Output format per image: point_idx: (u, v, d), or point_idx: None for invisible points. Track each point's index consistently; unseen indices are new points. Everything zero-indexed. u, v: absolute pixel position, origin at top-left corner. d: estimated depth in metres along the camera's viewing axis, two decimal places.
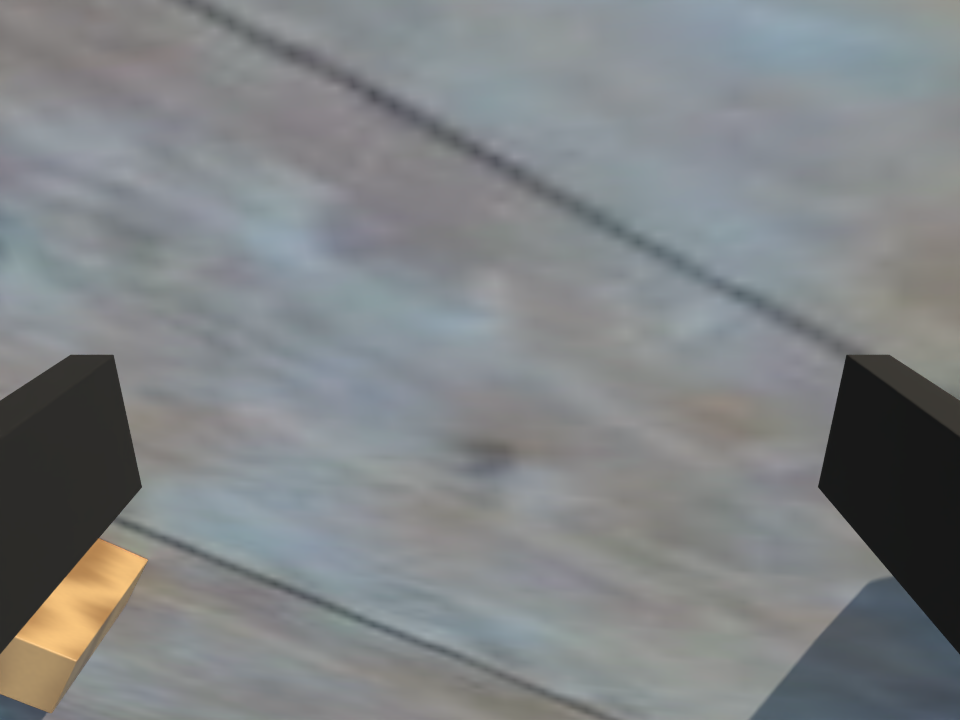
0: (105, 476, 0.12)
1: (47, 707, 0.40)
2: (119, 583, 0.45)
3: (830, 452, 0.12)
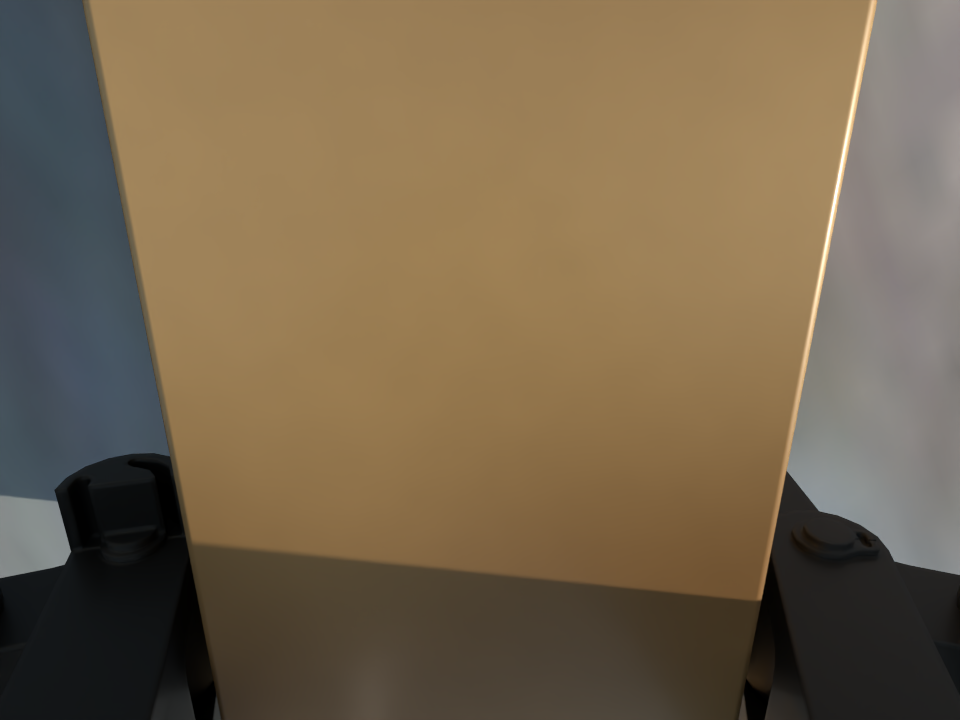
0: None
1: None
2: None
3: None
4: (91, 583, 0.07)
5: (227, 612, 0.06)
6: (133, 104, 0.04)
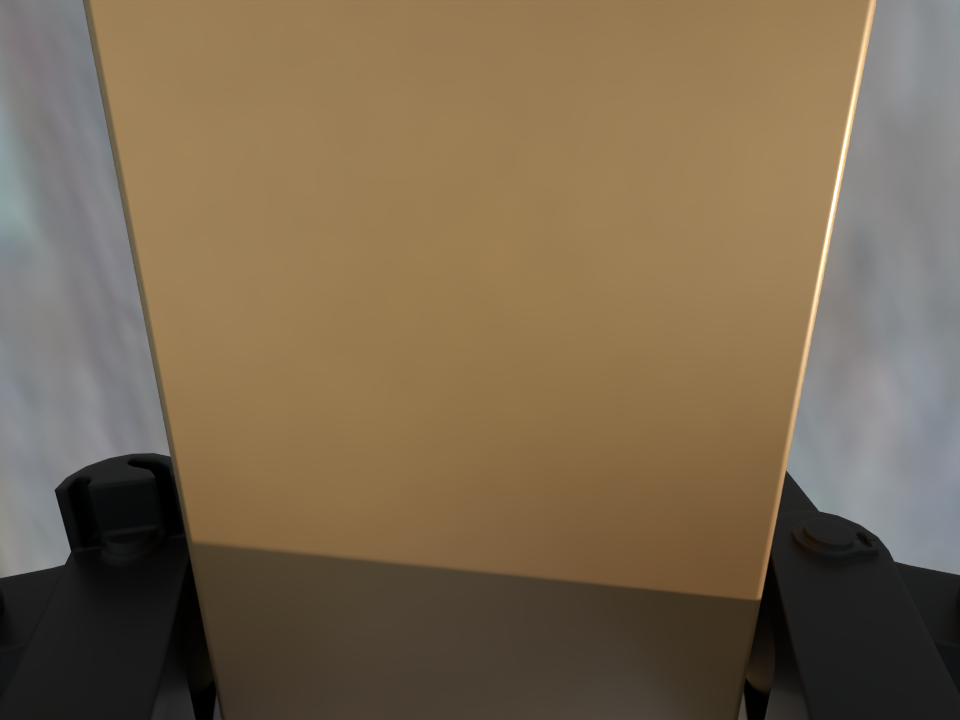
0: None
1: None
2: None
3: None
4: (91, 583, 0.07)
5: (227, 609, 0.06)
6: (133, 100, 0.04)
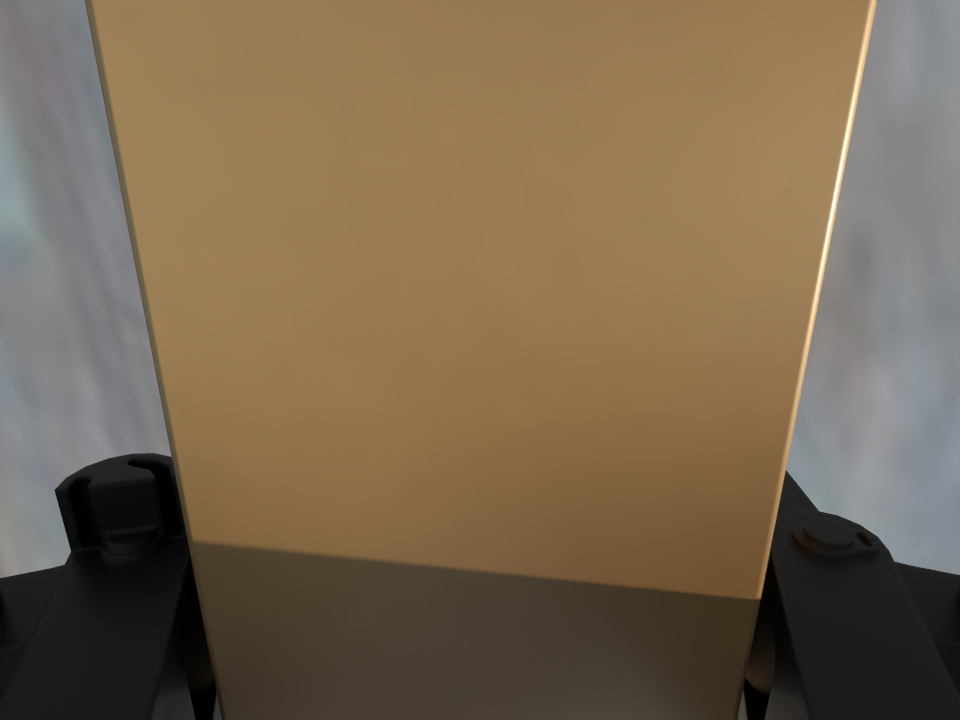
0: None
1: None
2: None
3: None
4: (91, 583, 0.07)
5: (227, 608, 0.06)
6: (134, 99, 0.04)
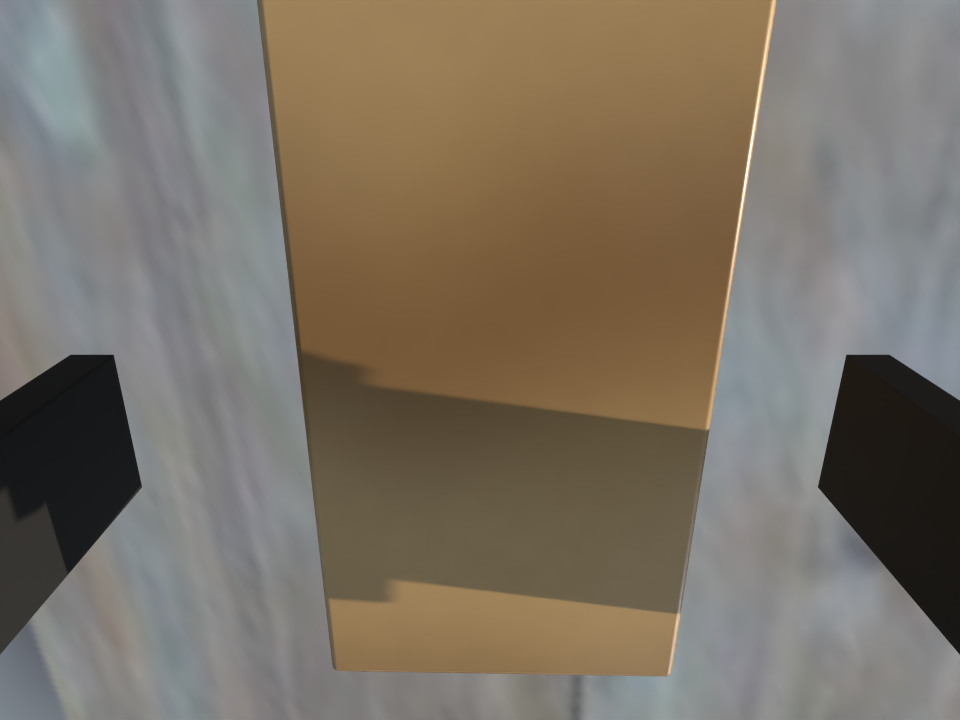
0: (105, 476, 0.12)
1: (360, 656, 0.09)
2: None
3: (830, 451, 0.12)
4: None
5: (309, 262, 0.07)
6: None
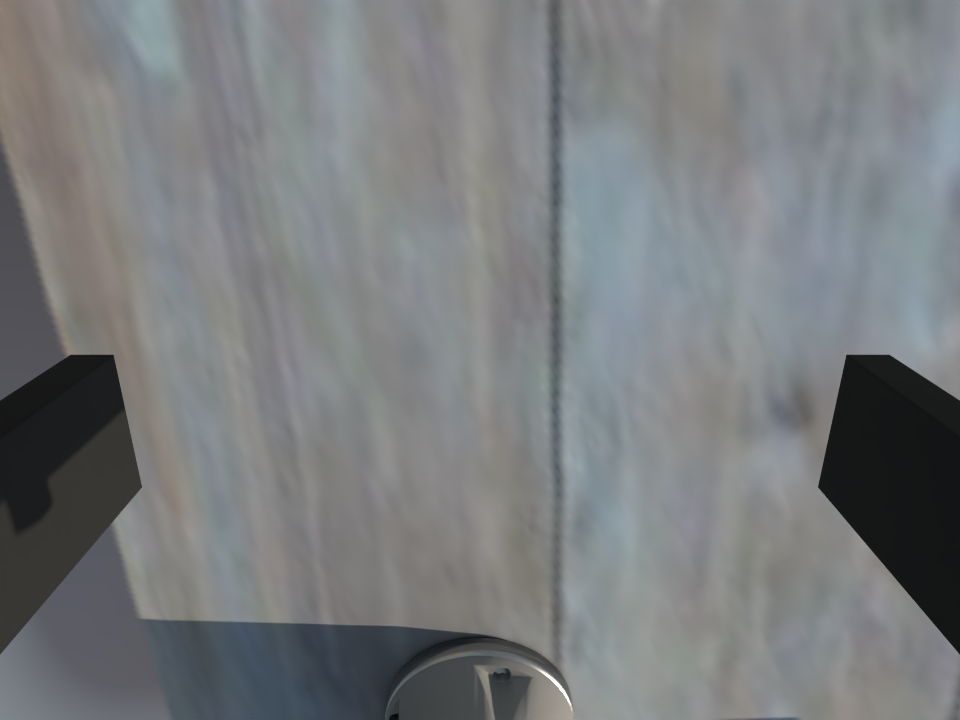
0: (105, 476, 0.12)
1: None
2: None
3: (830, 452, 0.12)
4: None
5: None
6: None
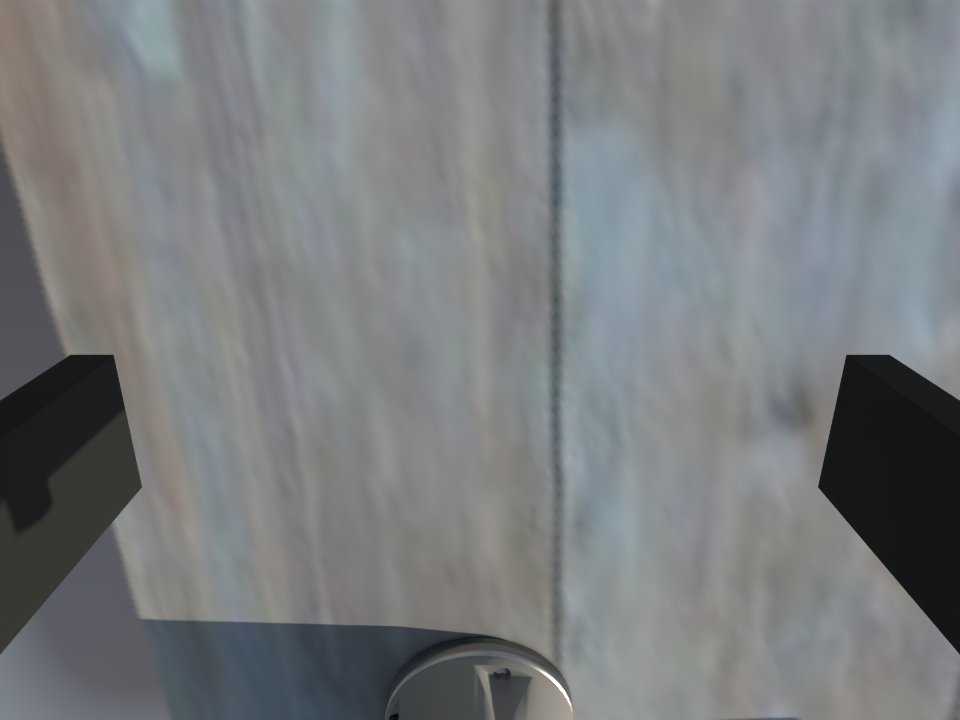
0: (105, 476, 0.12)
1: None
2: None
3: (830, 452, 0.12)
4: None
5: None
6: None
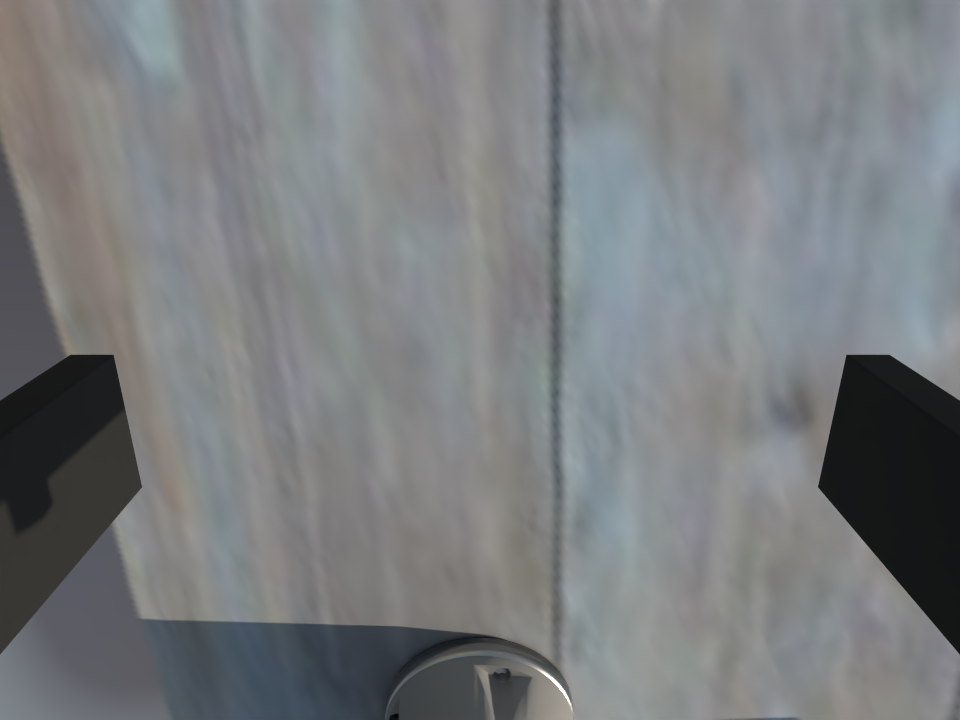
0: (105, 476, 0.12)
1: None
2: None
3: (830, 452, 0.12)
4: None
5: None
6: None
